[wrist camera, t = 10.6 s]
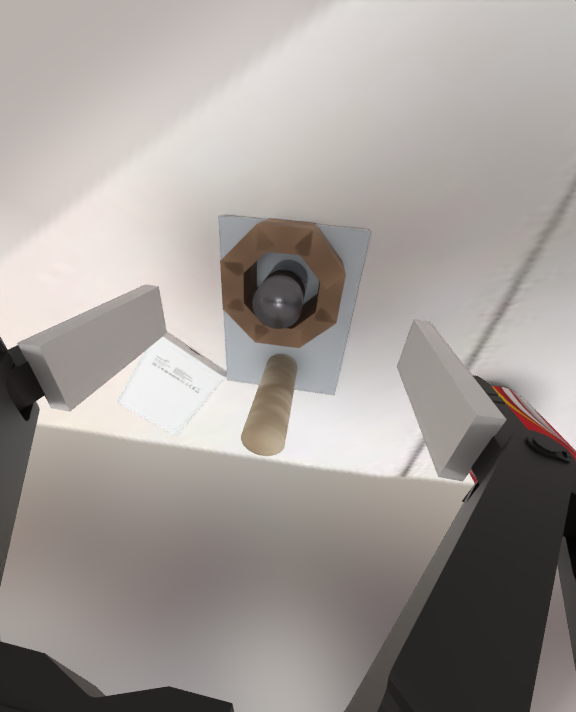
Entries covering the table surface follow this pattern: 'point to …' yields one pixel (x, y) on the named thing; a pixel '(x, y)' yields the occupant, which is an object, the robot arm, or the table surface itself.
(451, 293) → the table surface
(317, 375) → the board
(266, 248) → the ring
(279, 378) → the pale post
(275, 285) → the dark post
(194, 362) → the external hard drive
